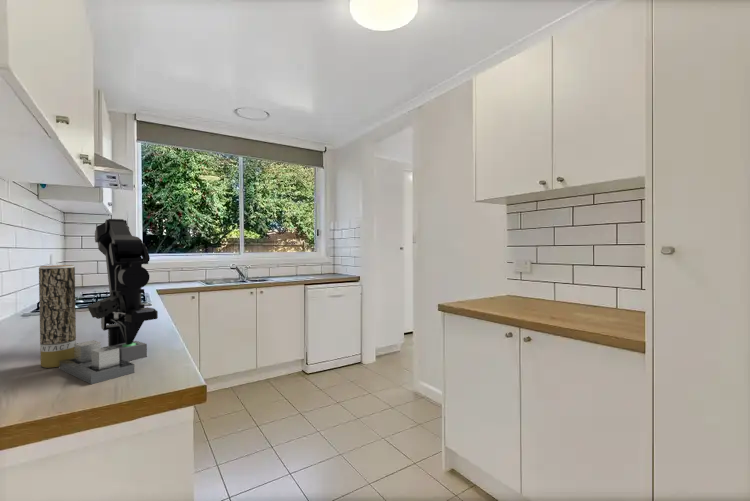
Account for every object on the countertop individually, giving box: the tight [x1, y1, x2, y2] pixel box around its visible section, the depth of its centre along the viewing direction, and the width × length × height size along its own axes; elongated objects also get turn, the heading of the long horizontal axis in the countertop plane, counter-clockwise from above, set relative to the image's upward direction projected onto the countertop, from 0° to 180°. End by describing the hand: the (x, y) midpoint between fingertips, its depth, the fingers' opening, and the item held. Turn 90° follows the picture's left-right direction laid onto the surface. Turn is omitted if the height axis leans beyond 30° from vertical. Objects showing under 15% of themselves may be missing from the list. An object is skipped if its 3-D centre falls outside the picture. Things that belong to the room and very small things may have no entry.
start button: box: [122, 343, 136, 347], centre depth 97 cm, size 3×3×2 cm
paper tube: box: [38, 264, 77, 369], centre depth 91 cm, size 7×7×25 cm
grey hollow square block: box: [113, 340, 148, 362], centre depth 97 cm, size 6×6×4 cm
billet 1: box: [74, 339, 102, 364], centre depth 89 cm, size 4×4×6 cm
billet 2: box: [91, 346, 119, 372], centre depth 84 cm, size 4×4×6 cm
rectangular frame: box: [59, 358, 135, 385], centre depth 87 cm, size 18×8×2 cm, turn 57°
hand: (129, 344), depth 97 cm, fingers closed, pressing on start button
